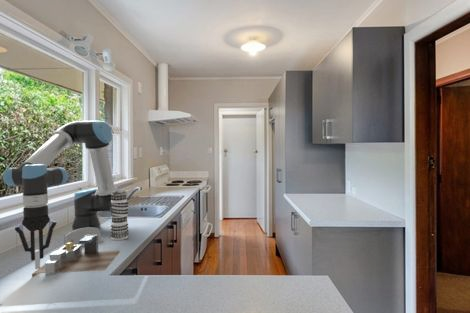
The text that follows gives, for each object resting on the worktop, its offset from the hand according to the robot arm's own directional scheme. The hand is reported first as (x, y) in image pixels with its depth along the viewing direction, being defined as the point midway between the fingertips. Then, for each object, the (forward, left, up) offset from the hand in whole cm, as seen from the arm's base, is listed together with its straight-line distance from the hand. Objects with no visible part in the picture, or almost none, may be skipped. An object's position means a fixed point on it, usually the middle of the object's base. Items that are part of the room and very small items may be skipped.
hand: (37, 267), depth 105 cm
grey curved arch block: (-30, +4, -3) cm, 30 cm away
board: (-9, +12, -3) cm, 15 cm away
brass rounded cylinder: (-13, +6, -3) cm, 14 cm away
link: (-6, +6, -2) cm, 9 cm away
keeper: (-14, +13, -3) cm, 19 cm away
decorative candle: (-42, +18, -3) cm, 45 cm away
